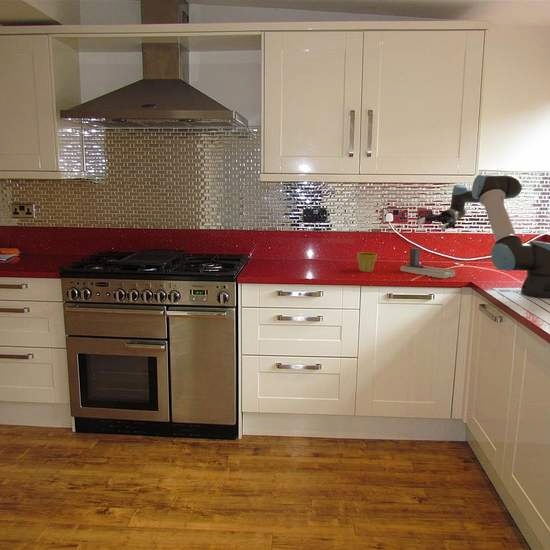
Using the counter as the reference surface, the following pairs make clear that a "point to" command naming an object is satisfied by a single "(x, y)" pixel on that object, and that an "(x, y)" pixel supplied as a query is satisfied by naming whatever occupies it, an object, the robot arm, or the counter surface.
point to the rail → (430, 271)
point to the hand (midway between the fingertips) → (430, 225)
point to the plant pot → (366, 261)
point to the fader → (414, 258)
